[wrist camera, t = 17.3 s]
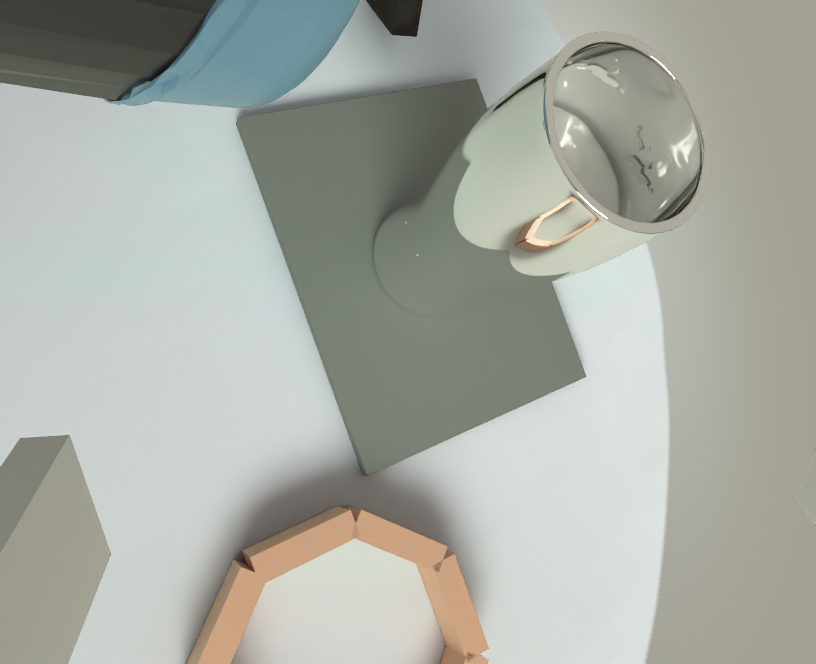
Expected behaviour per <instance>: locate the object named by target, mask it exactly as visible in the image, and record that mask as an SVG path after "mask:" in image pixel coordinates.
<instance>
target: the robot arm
mask: <svg viewBox="0 0 816 664" xmlns="http://www.w3.org/2000/svg"><path fill="white" fill-rule="evenodd" d="M359 1H360V0H0V82H1V83H7V84H14V85H20V86H27V87H33V88H40V89H46V90H52V91H59V92H65V93H72V94H78V95H84V96H91V97H97V98H103V99H104V100H105V101H107V102H108V103H113V104H118V105H120V104H126V105H130V106H136V105H142V104H147V103H150V102H153V101H161V102H172V103H184V104H196V105H208V106H220V107H231V108H244V107H251V106H257V105H262V104H265V103H268V102H271V101H273V100H276V99H278V98H279V97H281V96H283V95H284V94H286V93H287V92H289V91H290V90H292V89H294V88H295V87H297V86H298V85H299V84H300V83H301V82H302V81H304V80H305V79H306V78H307V77H308V76H309V75H310V74H311V73H312V72H313V71H314V70H315V69H316V68H317V66H318V65H319V64H320V63H321V62H322V60H323V59H324V58H325V57H326V56H327V54H328V53H329V51H330V50H331V49H332V47H333V46H334V44H335V43H336V41H337V40H338V38H339V36H340V35H341V33H342V31H343V30H344V28H345V26H346V25H347V23H348V21H349V20H350V18H351V16H352V15H353V13H354V11H355V9H356V7H357V5H358V3H359ZM796 502H797V503H798V504H799V505H800V507H801V508H802V509H803V510H804V511H805V513H806V514H807V515H808V516H809V517H810V518H811V520H812V521H813V522H814V523H815V524H816V449H815V452H814V454H813V457H812V459H811V462H810V464H809V467H808V470H807V472H806V475H805V477H804V480H803V483H802V485H801V488H800V490H799V493H798V495H797V498H796ZM110 556H111V553H110V550H109V547H108V544H107V541H106V538H105V535H104V533H103V530H102V527H101V524H100V521H99V518H98V515H97V513H96V510H95V507H94V504H93V501H92V498H91V495H90V492H89V490H88V487H87V484H86V481H85V478H84V475H83V472H82V470H81V467H80V464H79V461H78V458H77V455H76V452H75V449H74V447H73V444H72V441H71V438H70V435H64V436H48V437H33V438H20V439H19V441H18V442H17V444H16V445H15V447H14V448H13V450H12V451H11V453H10V454H9V455H8V457H7V458H6V460H5V461H4V463H3V464H2V466H1V467H0V664H68V662H69V659H70V657H71V654H72V652H73V649H74V647H75V644H76V642H77V639H78V637H79V634H80V631H81V629H82V626H83V624H84V621H85V619H86V616H87V614H88V611H89V609H90V606H91V604H92V601H93V599H94V596H95V593H96V591H97V588H98V586H99V583H100V581H101V578H102V576H103V573H104V571H105V568H106V566H107V563H108V561H109V558H110Z"/></svg>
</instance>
